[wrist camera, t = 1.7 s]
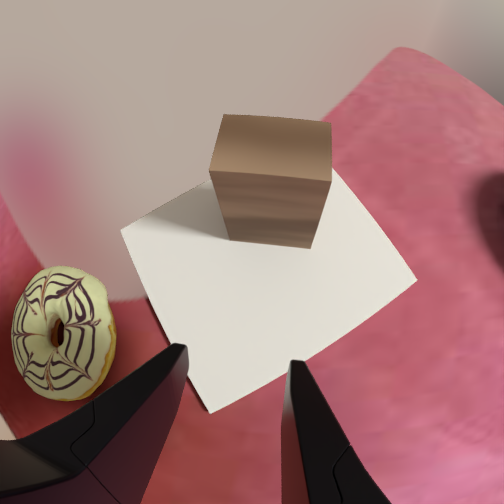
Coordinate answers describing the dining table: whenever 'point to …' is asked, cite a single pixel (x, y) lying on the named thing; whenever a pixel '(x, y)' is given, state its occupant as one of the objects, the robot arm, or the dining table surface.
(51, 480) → the robot arm
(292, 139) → the walnut block
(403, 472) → the dining table surface
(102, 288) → the decorated donut
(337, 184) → the rubber mat
